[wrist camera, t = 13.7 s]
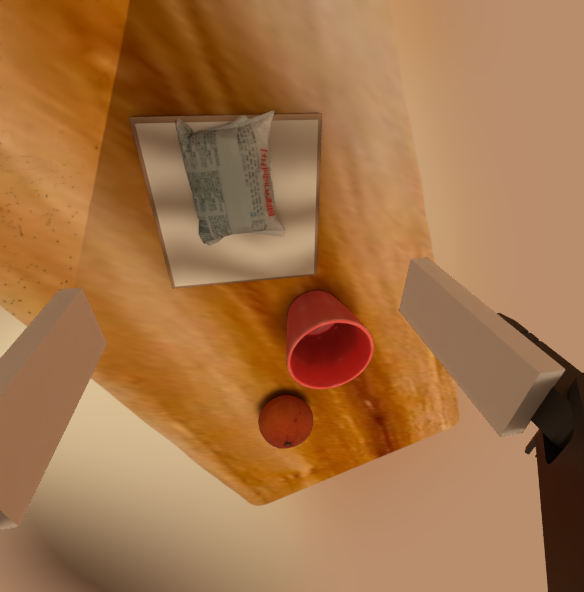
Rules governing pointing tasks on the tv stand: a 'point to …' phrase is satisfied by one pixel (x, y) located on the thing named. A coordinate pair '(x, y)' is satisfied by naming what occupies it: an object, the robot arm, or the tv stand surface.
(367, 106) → the tv stand surface
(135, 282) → the tv stand surface
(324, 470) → the tv stand surface
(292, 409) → the fruit
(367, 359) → the flower pot
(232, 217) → the packaged food
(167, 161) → the stand
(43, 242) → the tv stand surface
